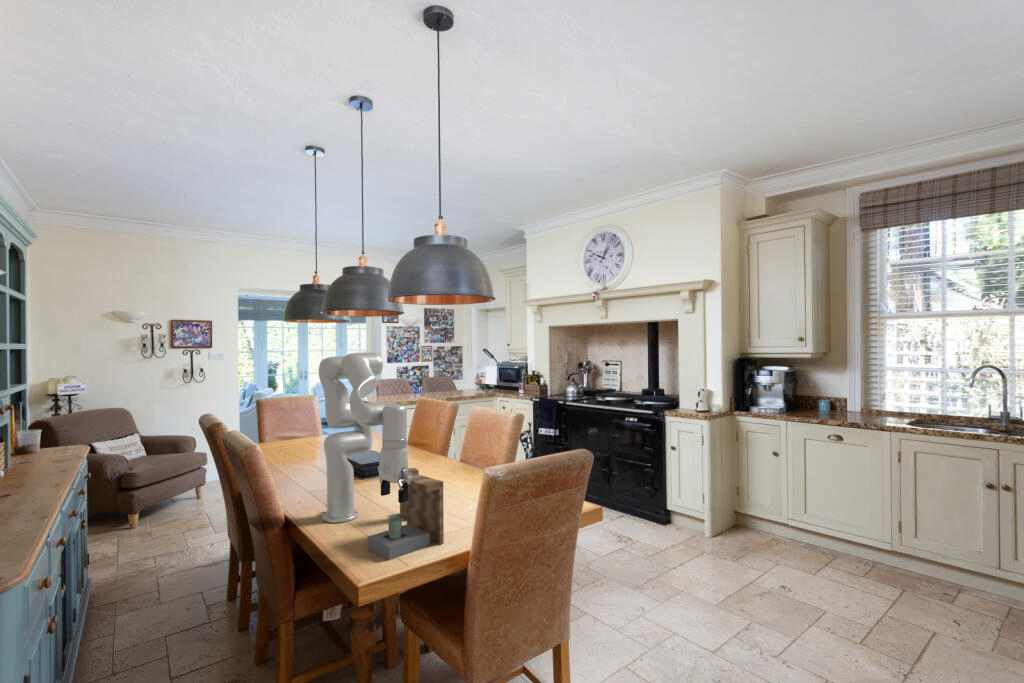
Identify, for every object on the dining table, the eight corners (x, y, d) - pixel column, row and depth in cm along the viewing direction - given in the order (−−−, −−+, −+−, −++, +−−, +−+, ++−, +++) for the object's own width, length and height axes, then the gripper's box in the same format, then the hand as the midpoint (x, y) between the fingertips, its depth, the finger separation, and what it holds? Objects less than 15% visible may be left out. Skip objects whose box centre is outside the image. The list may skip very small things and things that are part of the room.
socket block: (367, 549, 160) (367, 536, 160) (407, 535, 170) (407, 524, 170) (389, 560, 151) (389, 546, 151) (429, 545, 162) (429, 532, 162)
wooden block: (399, 513, 193) (399, 466, 193) (410, 511, 195) (410, 465, 195) (407, 520, 185) (407, 471, 185) (419, 518, 187) (418, 469, 188)
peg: (386, 549, 160) (385, 517, 160) (396, 545, 163) (396, 514, 163) (393, 552, 157) (393, 520, 157) (404, 548, 160) (404, 516, 160)
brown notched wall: (394, 535, 171) (394, 475, 172) (410, 529, 176) (410, 472, 176) (427, 549, 159) (427, 485, 159) (443, 543, 164) (443, 481, 164)
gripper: (369, 441, 163) (368, 494, 163) (400, 450, 151) (399, 507, 152) (389, 438, 169) (388, 489, 169) (420, 446, 157) (420, 501, 157)
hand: (394, 498), depth 160 cm, fingers open, 9 cm apart
